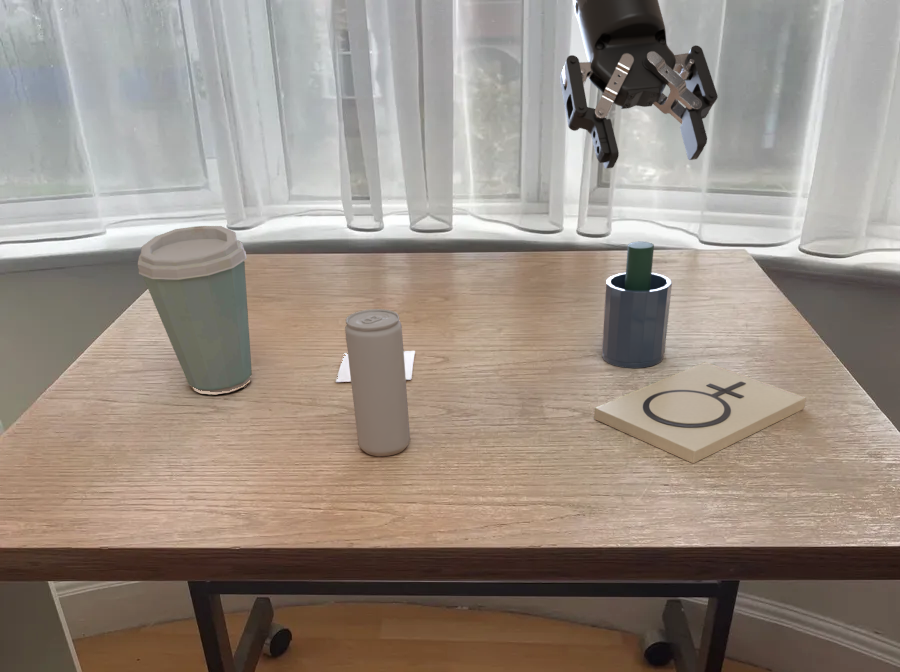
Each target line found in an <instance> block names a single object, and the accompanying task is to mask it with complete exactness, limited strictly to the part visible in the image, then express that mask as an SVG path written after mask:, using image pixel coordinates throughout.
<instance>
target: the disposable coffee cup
mask: <svg viewBox="0 0 900 672" xmlns="http://www.w3.org/2000/svg"><path fill="white" fill-rule="evenodd" d="M244 247H245V246H244V245H243V242H242V241H240V240H238V239H237V234H236V231H234V230H232V229H229V228H227V227H225V226H222V225H197V226H188V227H180V228H175V229H172V230H169V231H166V232H164V233H162V234H161V233H160V234H159V235H155V236H154V237H153V238H151V239H150V240H148V241H146V243H144V244H143V245H142V246H141V249H140V254H139V255H138V260H137V268H138V275H141V276H142V278H143V280H144V283H145V285H146V287H147V289H148V292H149V294H150V297H151V300H152V302H153V304H154V306H155V308H156V311H157V313H158V315H159V318H160V320H161V322H162V325H163V328H164V330H165V332H166V334H167V337H168V339H169V342H170V344H171V346H172V349H173V352H174V353H175V355H176V358H177V360H178V363H179V365H180V368H181V370H182V373H183V374H184V377H185V380H186V382H187V384H188V386H190V387H191V388H192V387H194V388H196V389H198V390H200V391H201V390H202V391H210V392H222V391H230V390H232V389H235V388H238V387H241V386H243V385H244V384H246V383H247V382H248V381H249V380H250V381H251V376H252V375H253V371H252V355H251V341H250V340H251V339H250V327H249V325H250V324H249V308H248V296H247V295H248V294H247V280H246V279H247V278H246V265H245V263H246V262H245V261H246V260H247V259H248V258H247V251H246V250H245V248H244Z"/></svg>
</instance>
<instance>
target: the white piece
mask: <svg viewBox="0 0 900 672" xmlns="http://www.w3.org/2000/svg"><path fill="white" fill-rule="evenodd" d="M347 353H348V352H344V353H343V355H344V354H345V355H346V356H343V355H342V359H341V362H342V363H341V362H340V364H339V365H340V366H339V369H338V373H337V375H336V378H335V383H344V382H345V383H347V382H350V383H351V376H350V368H349V359H348V354H347ZM415 354H416V350H404V363H405V376H406V381H409V380H412V377H413V369H414V361H415ZM343 357H344V358H343ZM342 360H343V361H342ZM337 376H338V377H337ZM337 378H338V379H337Z"/></svg>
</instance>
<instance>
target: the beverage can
mask: <svg viewBox="0 0 900 672" xmlns="http://www.w3.org/2000/svg"><path fill="white" fill-rule="evenodd" d="M345 324H346V325H345V327H344V331H345V332H344V334H345V340H346V341H345V342H346V349H347V350H346V351H347V353H348V359H349V368H350V376H351V382H350V384H351V393H352V400H353V407H354V408H353V409H354V416H355V418H354V419H355V427H356V436H357V444H358V446H359V448H360V449H361V450H362V451H363V452H364V453H366V454H367V455H370V456H373V457H389V456H395V455H397V454H400V453H402V452H403V451H404V450H405V449H406V448H407V447H408V446H409V444H410V442H411V431H410V418H409V405H408V404H409V403H408V391H407V390H408V389H407V380H406V376H405V363H404V351H405V350H404V337H403V327H402V321H400V315H399V314H398V312H397V311H394V310H391V309H385V308H369V309H368V308H367V309H363V310H359V311H355V312H353V313H350V314H349V315H348V316H347V317H346V318H345Z"/></svg>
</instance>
